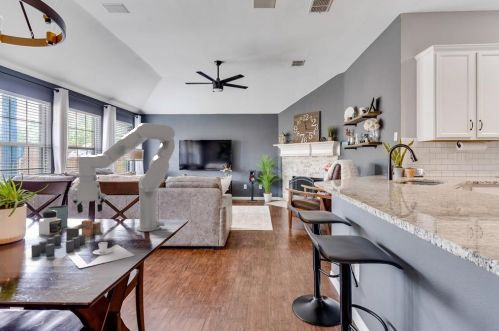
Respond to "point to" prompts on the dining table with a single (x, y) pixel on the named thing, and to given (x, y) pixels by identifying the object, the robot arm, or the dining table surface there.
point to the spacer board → (56, 247)
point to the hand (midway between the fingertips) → (90, 212)
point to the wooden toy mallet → (83, 229)
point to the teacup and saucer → (102, 255)
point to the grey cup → (60, 214)
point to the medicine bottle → (49, 223)
